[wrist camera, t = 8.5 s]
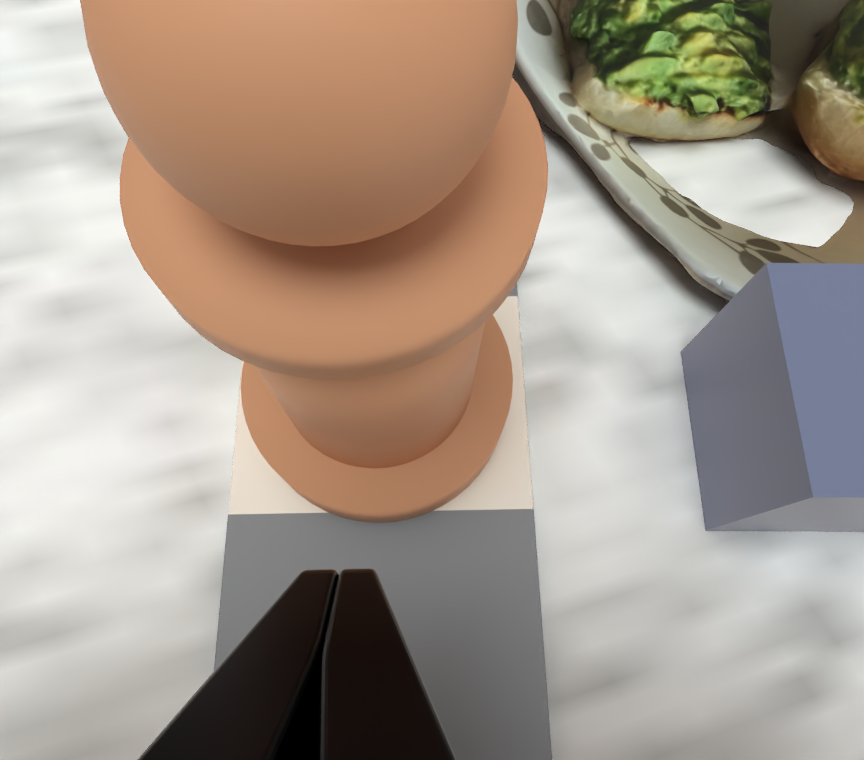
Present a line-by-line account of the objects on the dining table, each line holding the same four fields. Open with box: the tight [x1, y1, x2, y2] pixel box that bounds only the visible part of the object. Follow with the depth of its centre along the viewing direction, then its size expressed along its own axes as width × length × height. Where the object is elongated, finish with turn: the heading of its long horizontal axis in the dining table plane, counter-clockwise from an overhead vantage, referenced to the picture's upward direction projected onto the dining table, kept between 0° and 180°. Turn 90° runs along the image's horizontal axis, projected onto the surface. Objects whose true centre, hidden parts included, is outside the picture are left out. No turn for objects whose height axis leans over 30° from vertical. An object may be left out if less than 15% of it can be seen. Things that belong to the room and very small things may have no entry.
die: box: [681, 263, 864, 532], centre depth 14 cm, size 4×5×5 cm
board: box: [214, 283, 552, 760], centre depth 14 cm, size 28×7×1 cm, turn 1°
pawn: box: [80, 0, 548, 523], centre depth 10 cm, size 6×6×12 cm
